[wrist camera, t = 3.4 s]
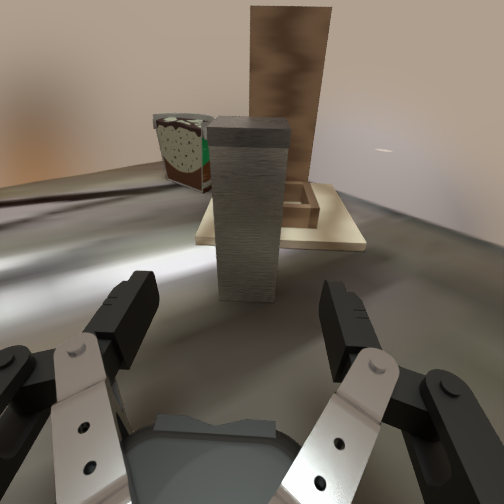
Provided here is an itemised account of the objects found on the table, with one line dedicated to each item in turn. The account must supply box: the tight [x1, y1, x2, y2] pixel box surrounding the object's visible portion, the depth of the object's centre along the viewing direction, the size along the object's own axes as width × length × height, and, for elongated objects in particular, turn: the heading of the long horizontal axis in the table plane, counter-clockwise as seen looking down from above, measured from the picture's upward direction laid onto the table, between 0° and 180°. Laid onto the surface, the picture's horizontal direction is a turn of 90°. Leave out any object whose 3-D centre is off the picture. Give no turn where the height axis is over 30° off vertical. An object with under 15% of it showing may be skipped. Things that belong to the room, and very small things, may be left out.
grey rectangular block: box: [206, 116, 291, 303], centre depth 20 cm, size 5×5×13 cm
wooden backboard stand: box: [195, 6, 367, 251], centre depth 30 cm, size 18×18×21 cm
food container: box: [153, 113, 215, 193], centre depth 43 cm, size 12×6×10 cm, turn 50°
